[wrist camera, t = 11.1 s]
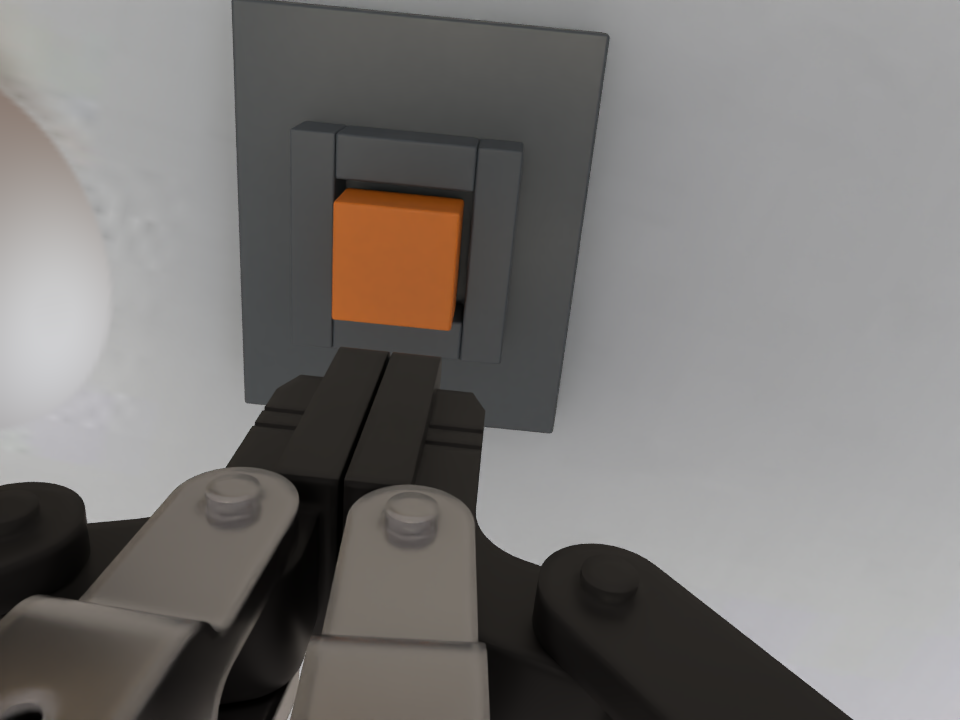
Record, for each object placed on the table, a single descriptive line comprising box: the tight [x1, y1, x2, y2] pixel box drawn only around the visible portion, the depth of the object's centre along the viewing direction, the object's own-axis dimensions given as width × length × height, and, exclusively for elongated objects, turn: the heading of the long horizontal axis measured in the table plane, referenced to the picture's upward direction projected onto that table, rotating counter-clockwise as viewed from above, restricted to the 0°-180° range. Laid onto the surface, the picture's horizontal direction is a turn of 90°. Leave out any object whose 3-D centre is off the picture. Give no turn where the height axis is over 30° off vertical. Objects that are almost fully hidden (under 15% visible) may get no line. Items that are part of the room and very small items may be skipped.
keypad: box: [232, 0, 609, 433], centre depth 23 cm, size 12×10×3 cm
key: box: [332, 188, 464, 331], centre depth 21 cm, size 3×3×2 cm
